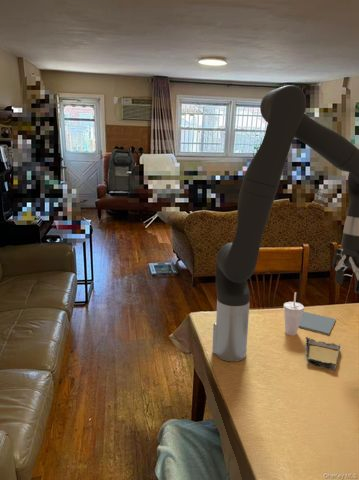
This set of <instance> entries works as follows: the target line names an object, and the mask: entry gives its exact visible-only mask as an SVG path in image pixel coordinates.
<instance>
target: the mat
mask: <svg viewBox="0 0 359 480" xmlns="http://www.w3.org/2000/svg"><path fill="white" fill-rule="evenodd" d="M336 320H337V319H336V318H333V317H330V316H329V317H328V316H325V315H320V314H316V313H311V312H308V311H305V310H304V311H303V312H302V315H301V319H300V323H299V327H300V328H299V327H298V328H299V329H304V330H309V331H310V332H311V331H312V332H314V333H315V332H316V333H319V334H324V335H326V336H330V334H331V332H332V330H333V327H334V325H335V322H336Z"/></svg>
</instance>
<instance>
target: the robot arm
mask: <svg viewBox="0 0 359 480" xmlns="http://www.w3.org/2000/svg"><path fill="white" fill-rule="evenodd" d="M306 98H307V97H306V95H305V92H304V91H303V90H302V89H301V87H300V86H299V87H298V86H297V85H293V84H292V85H291V84H290V85H284V86H281V87H278V88H274V89H272V90H270V91H268V92H267V93H266V94H265V95H264V96H263V97H262V99H261V102H260V107H259V109H260V115H261V116H262V119H263V120H264V121H265V122H266V123H267V124H266V129H265V132H264V136H263V139H262V141H261V144H260V146H259V147H258V149H257V151H256V152H255V154H254V156H253V158H252V159H251V160H250V162H249V164H248V167H247V169H246V171H245V172H244V175H243V180H242V183H241V187H240V190H239V195H238V200H237V221H236V224H237V225H236V230H235V233H234V237H233V240H232V242H228V243H225V244H224V245H223V246H221V247H220V248H219V250H218V252H217V254H216V260H215V289H216V297H217V298H216V318H215V319H216V321H215V322H214V323H213V326H212V352H211V353H212V354H214V355H216V356H217V357H218V358H219V359H220V360H224V361H227V362H239V361H242V360H244V359H245V358H246V356H247V350H248V347H247V346H248V335H249V334H248V332H249V318H250V317H249V315H250V301H251V300H250V298H251V292H250V288H249V285H248V280H249V279H251V277H252V275H253V274H254V272H255V270H256V268H257V263H258V258H259V253H260V248H261V244H262V243H261V242H262V239H263V235H264V231H265V230H266V229H265V228H266V226H267V223H268V220H269V216H270V213H271V211H272V210H271V209H272V207H273V205H274V201H275V198H276V196H277V192H278V189H279V186H280V181H281V178H282V175H283V172H284V168H285V166H286V163H287V160H288V155H289V152H290V149H291V146H292V143H293V141H294V139H295V138H296V139H297V140H299V141H300V142H302V143H303V144H305V145H307V146H308V147H309V148H310V149H312V150H313V152H314V151H315V152H316V153H317V154H319V155H320V156H321V157H322V158H324V159H325V161H327V162H329V163H330V164H331V165H332V166H333V167H335V168H336V169H338V170H340V171H342V172H346V173H348V175H347V186H348V187H347V188H348V189H347V191H348V198H349V203H348V208H347V213H346V215H347V216H346V218H345V221H344V225H343V232H342V236H341V237H342V238H341V243H340V247H341V248H335V249H334V252H333V257H332V262H331V267H332V268H334V270H335V276H334V277H335V278H334V283H335V284H336V285H341V284H343V282H344V276H345V270H346V269H347V268H350V269H351V270H352V272H353V273H354V274H355V276H356V279H355V284H354V289H353V292H354V293H356V294H359V148H358V147H357V146H356V145H355V144H354V143H352V142H351V141H350V140H348V138H346V137H344V136H343V135H342V134H340V133H339V132H337V131H335V130H333V129H331V128H330V127H327V126H325V125H323V124H321V123H319V122H317V120H314V119H313V118H311V117H310V116H309V115H307V114H306V109H307V108H306V107H307V99H306Z"/></svg>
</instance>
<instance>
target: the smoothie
mask: <svg viewBox="0 0 359 480" xmlns="http://www.w3.org/2000/svg"><path fill="white" fill-rule="evenodd" d="M296 300H297V292H294V295H293V301H288V302H287V301H286V302H284V303H283V308H282V309H284V329H285V330H284V332H285V334H287V335H289V336H296V335H298V331H299V323H300V319H301V315H302V312H303V311H304V312H305V307H304V305H303V304H302V303H300V302H296Z"/></svg>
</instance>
